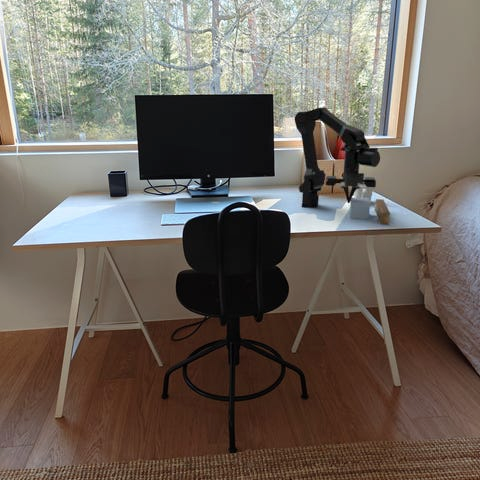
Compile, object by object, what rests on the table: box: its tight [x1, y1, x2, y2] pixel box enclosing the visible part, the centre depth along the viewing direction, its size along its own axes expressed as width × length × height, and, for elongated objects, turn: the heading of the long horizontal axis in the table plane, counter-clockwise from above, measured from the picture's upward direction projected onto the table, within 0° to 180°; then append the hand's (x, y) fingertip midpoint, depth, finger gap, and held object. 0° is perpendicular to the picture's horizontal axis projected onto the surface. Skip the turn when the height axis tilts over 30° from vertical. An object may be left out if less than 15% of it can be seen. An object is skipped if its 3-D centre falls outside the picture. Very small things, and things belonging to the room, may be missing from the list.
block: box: [349, 197, 371, 220], centre depth 169 cm, size 7×7×6 cm
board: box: [374, 198, 391, 226], centre depth 167 cm, size 3×20×4 cm, turn 169°
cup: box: [354, 184, 374, 202], centre depth 187 cm, size 11×8×8 cm
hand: (348, 202), depth 169 cm, fingers closed
